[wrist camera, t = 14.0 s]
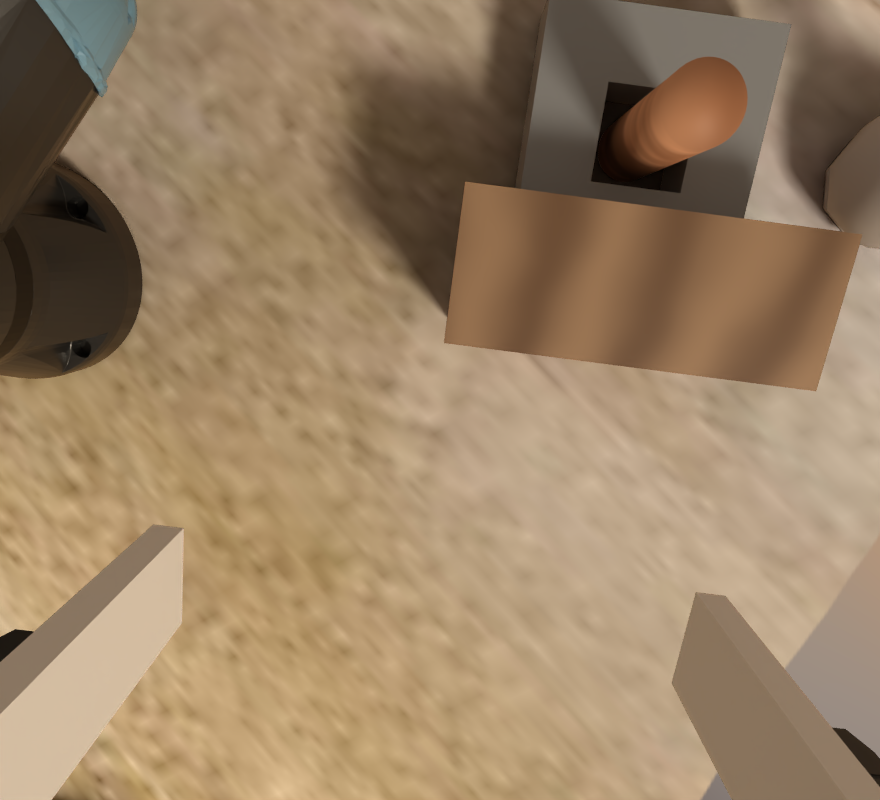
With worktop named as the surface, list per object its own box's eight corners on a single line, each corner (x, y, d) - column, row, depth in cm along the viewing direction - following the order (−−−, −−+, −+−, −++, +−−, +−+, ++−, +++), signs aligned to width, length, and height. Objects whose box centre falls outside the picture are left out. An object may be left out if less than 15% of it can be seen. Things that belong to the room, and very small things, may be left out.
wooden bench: (445, 322, 41) (444, 342, 32) (461, 200, 39) (465, 181, 30) (731, 359, 42) (816, 391, 32) (761, 239, 40) (862, 234, 30)
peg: (592, 177, 39) (652, 144, 27) (604, 114, 38) (671, 51, 26) (650, 185, 39) (735, 155, 27) (663, 122, 38) (757, 62, 26)
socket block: (506, 243, 40) (512, 242, 36) (540, 19, 37) (550, -9, 33) (703, 270, 40) (730, 271, 36) (755, 48, 37) (791, 24, 33)
